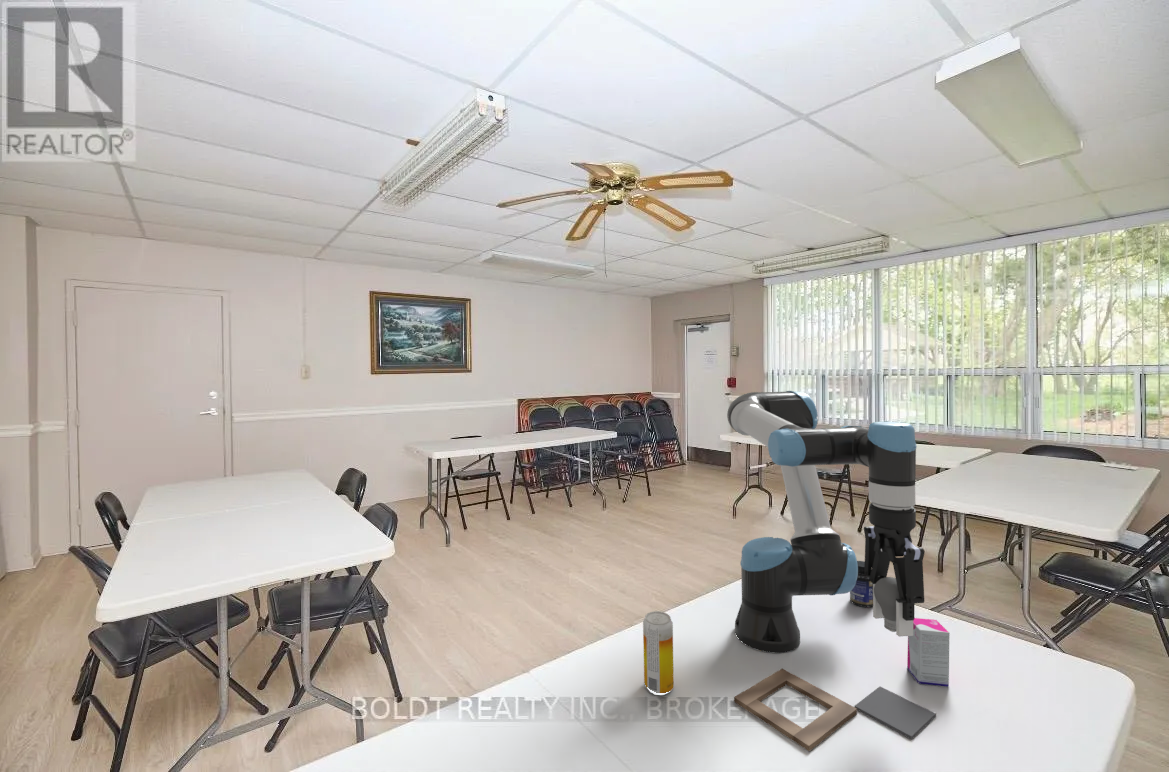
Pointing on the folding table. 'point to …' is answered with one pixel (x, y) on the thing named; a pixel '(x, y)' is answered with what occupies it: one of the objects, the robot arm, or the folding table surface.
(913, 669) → the supplement box
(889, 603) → the light bulb
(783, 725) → the wooden picture frame
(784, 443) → the robot arm
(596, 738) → the folding table surface
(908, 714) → the mat
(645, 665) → the beer can
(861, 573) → the pill bottle
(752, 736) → the folding table surface
